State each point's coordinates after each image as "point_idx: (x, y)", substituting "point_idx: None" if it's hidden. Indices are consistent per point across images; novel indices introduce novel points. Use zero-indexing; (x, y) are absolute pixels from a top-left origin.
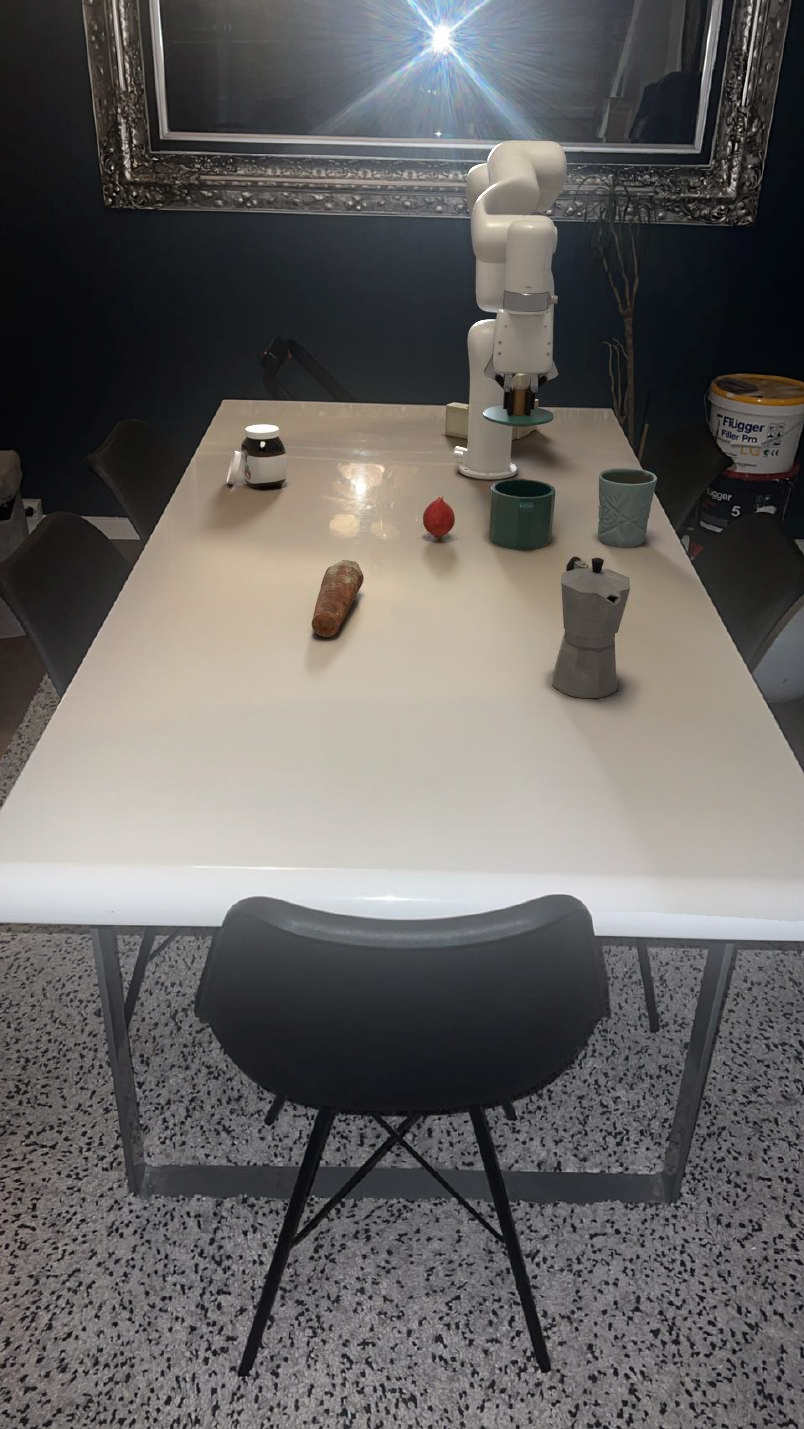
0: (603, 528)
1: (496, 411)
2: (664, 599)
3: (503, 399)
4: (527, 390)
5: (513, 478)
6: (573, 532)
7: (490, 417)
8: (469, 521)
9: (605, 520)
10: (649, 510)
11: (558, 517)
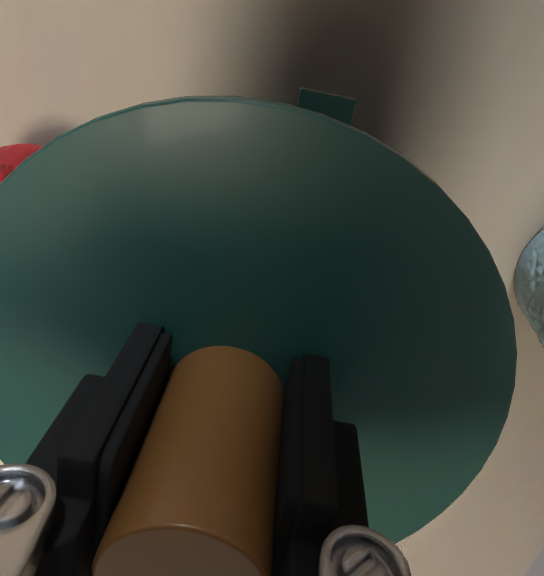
0: (527, 308)
1: (58, 306)
2: (462, 564)
3: (61, 410)
4: (286, 538)
5: (304, 89)
6: (475, 192)
7: (3, 447)
8: (172, 29)
9: (536, 328)
10: None
11: (500, 31)
